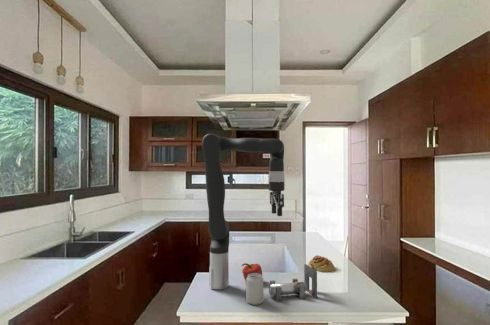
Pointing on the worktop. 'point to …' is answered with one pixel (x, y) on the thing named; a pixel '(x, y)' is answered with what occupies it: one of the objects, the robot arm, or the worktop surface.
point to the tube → (285, 288)
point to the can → (254, 288)
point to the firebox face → (313, 274)
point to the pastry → (321, 264)
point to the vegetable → (251, 269)
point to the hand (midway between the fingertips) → (276, 214)
